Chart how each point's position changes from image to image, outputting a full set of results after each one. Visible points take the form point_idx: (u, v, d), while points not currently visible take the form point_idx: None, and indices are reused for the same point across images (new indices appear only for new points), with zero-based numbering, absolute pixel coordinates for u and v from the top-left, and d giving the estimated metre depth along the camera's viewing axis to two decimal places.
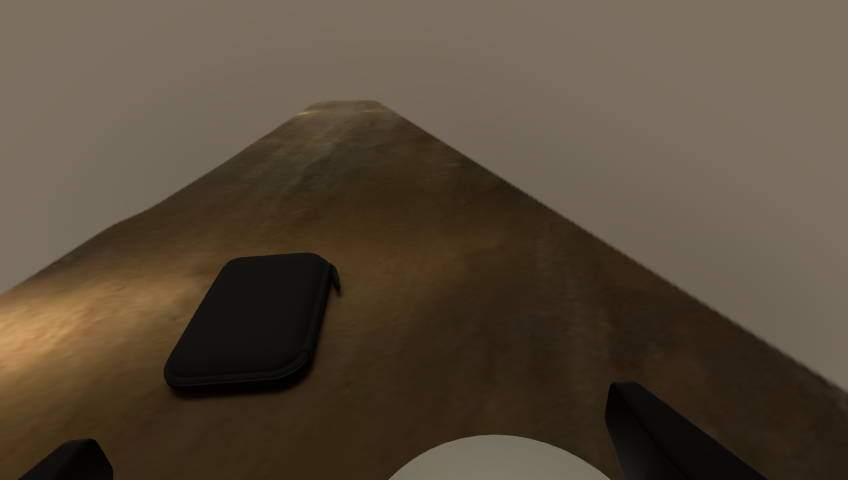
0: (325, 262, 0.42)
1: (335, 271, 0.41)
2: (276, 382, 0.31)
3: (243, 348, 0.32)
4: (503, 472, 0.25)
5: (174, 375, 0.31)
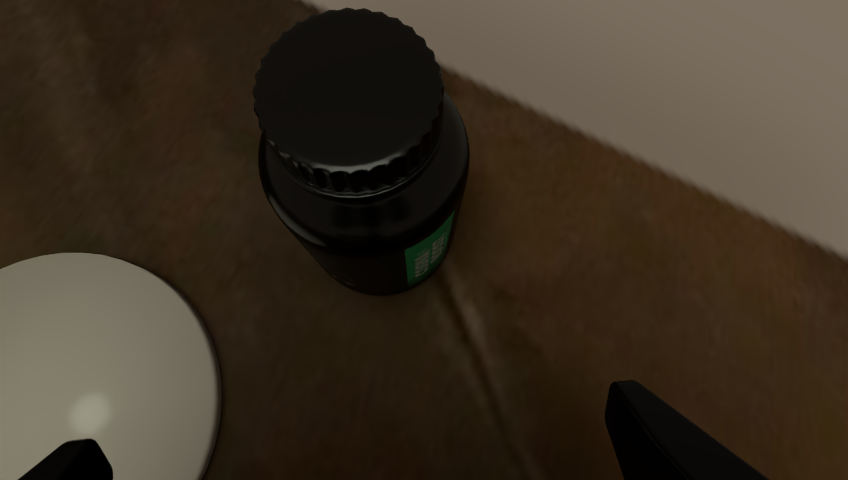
0: None
1: None
2: None
3: None
4: (5, 317, 0.21)
5: None
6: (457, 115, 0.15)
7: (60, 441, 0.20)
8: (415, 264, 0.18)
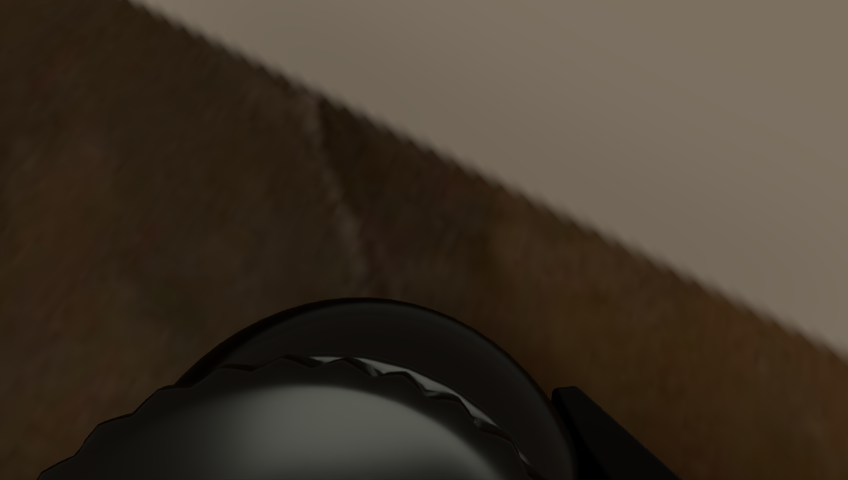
0: None
1: None
2: None
3: None
4: None
5: None
6: (577, 472, 0.06)
7: None
8: None
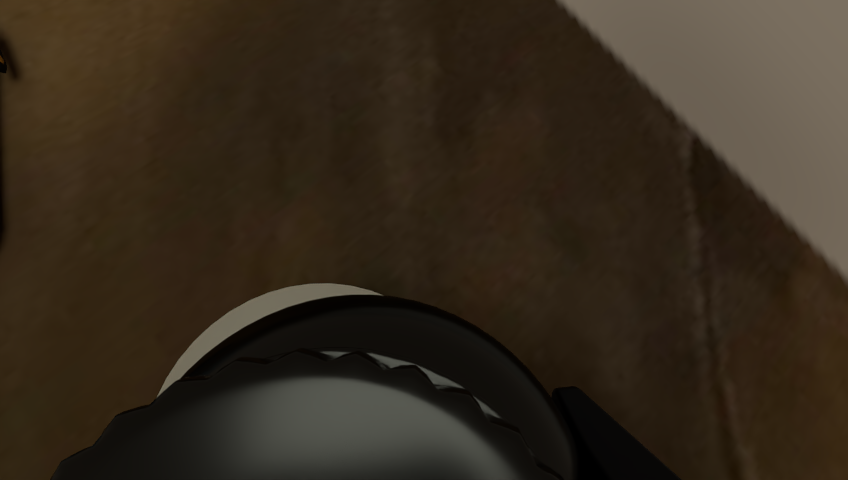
0: None
1: None
2: None
3: None
4: None
5: None
6: (577, 466, 0.06)
7: None
8: None
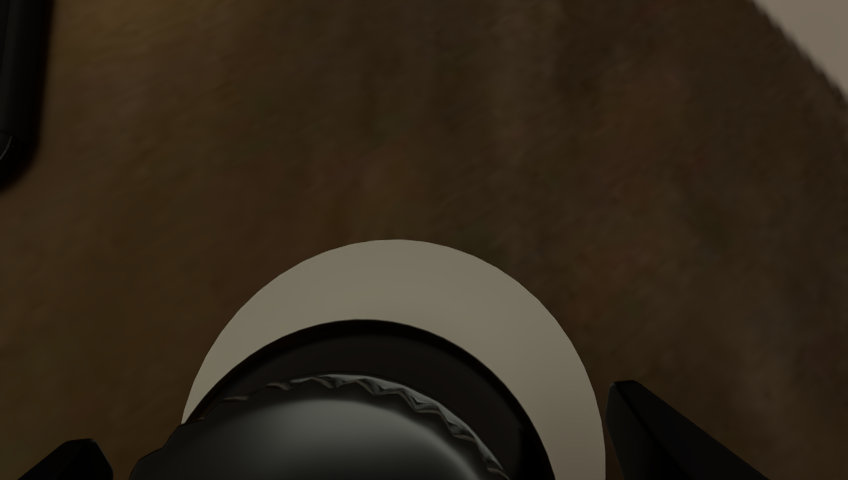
0: None
1: None
2: None
3: None
4: (388, 301, 0.17)
5: None
6: (543, 469, 0.08)
7: None
8: None
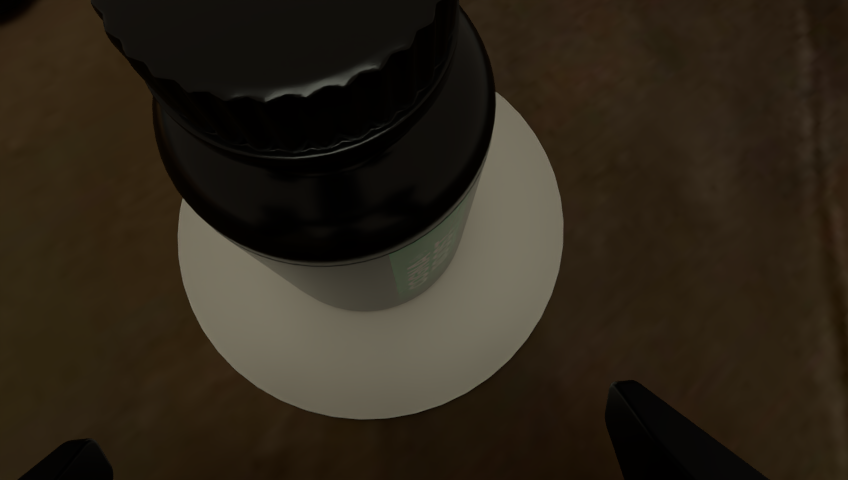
0: None
1: None
2: None
3: None
4: None
5: None
6: (477, 36, 0.10)
7: None
8: (408, 274, 0.12)
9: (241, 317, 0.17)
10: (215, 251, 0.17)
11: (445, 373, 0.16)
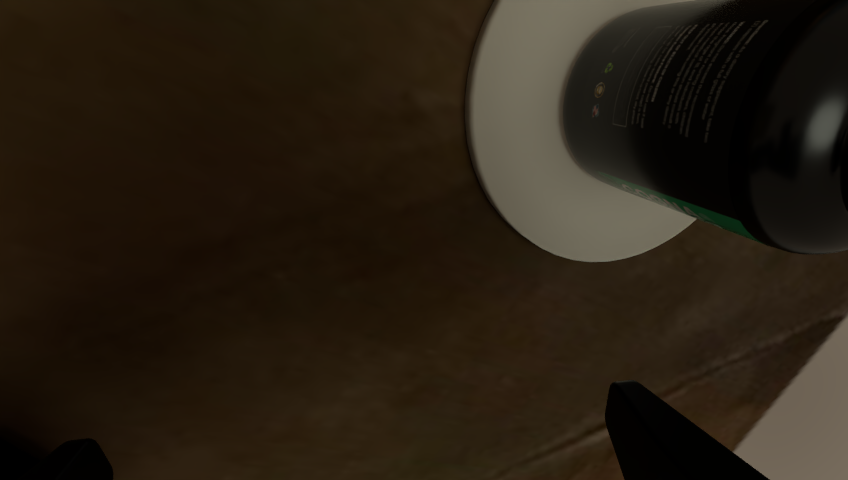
0: None
1: None
2: None
3: None
4: None
5: None
6: None
7: None
8: (669, 201, 0.15)
9: (528, 26, 0.17)
10: None
11: (533, 216, 0.20)
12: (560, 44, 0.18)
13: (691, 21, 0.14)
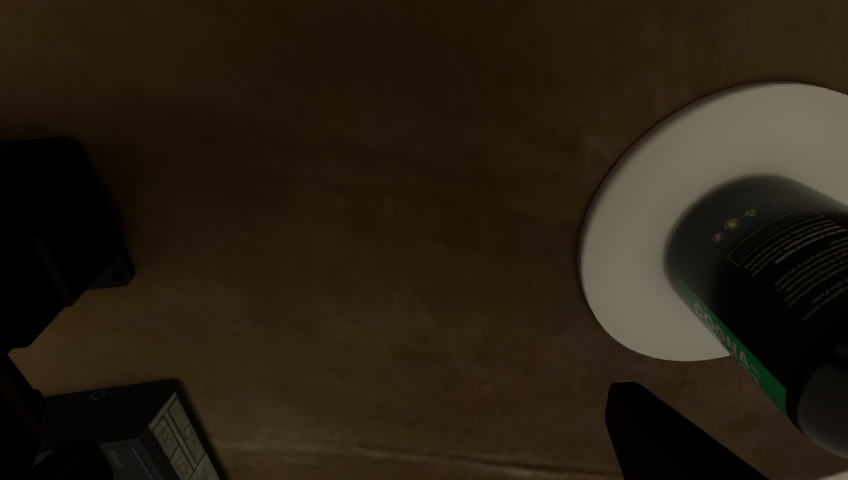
0: None
1: None
2: None
3: None
4: None
5: None
6: None
7: None
8: (731, 340, 0.18)
9: (707, 140, 0.19)
10: (772, 120, 0.19)
11: (603, 280, 0.22)
12: (719, 167, 0.20)
13: (842, 224, 0.16)
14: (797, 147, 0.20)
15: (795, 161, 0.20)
